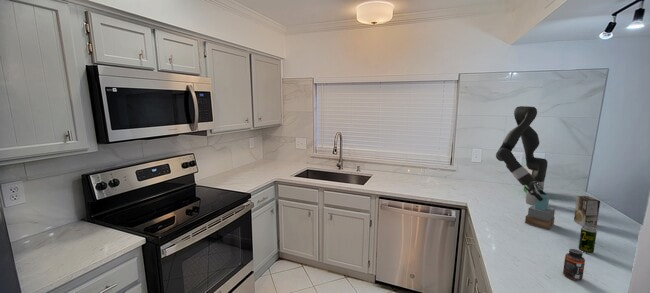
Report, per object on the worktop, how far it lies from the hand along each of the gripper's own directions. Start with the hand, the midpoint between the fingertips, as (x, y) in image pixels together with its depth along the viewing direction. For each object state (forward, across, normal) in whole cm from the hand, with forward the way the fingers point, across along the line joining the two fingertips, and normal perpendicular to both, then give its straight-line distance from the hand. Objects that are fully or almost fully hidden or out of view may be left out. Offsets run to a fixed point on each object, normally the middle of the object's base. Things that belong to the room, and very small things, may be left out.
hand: (544, 198), depth 157 cm
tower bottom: (+11, +1, +12) cm, 16 cm away
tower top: (+7, +1, +8) cm, 11 cm away
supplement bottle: (+28, -50, -5) cm, 58 cm away
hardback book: (-4, +64, +27) cm, 70 cm away
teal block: (+4, 0, +5) cm, 6 cm away
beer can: (+27, -19, -4) cm, 34 cm away
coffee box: (+22, +21, 0) cm, 31 cm away
